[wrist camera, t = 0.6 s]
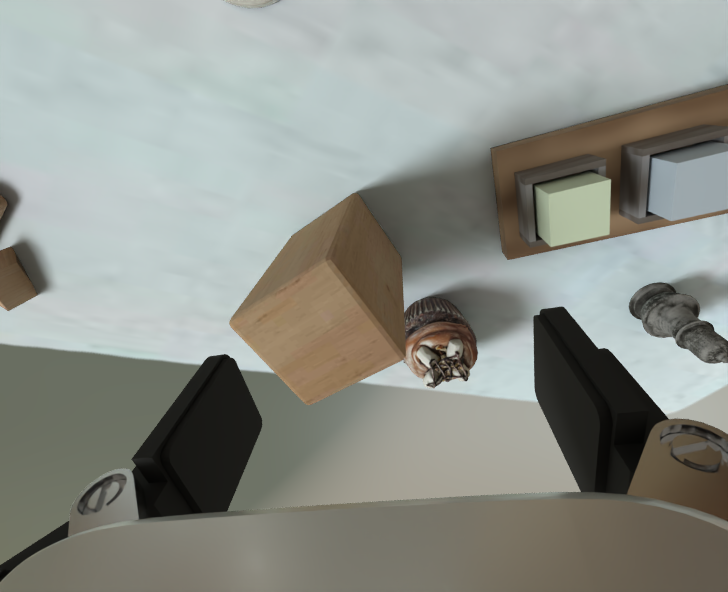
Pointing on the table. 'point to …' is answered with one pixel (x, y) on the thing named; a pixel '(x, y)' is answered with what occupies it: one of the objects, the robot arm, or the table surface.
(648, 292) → the grey tall stone piece
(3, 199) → the wooden block set
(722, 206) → the slate key
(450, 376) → the cupcake
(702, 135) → the console
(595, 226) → the sage key
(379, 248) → the wooden block
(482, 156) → the table surface
